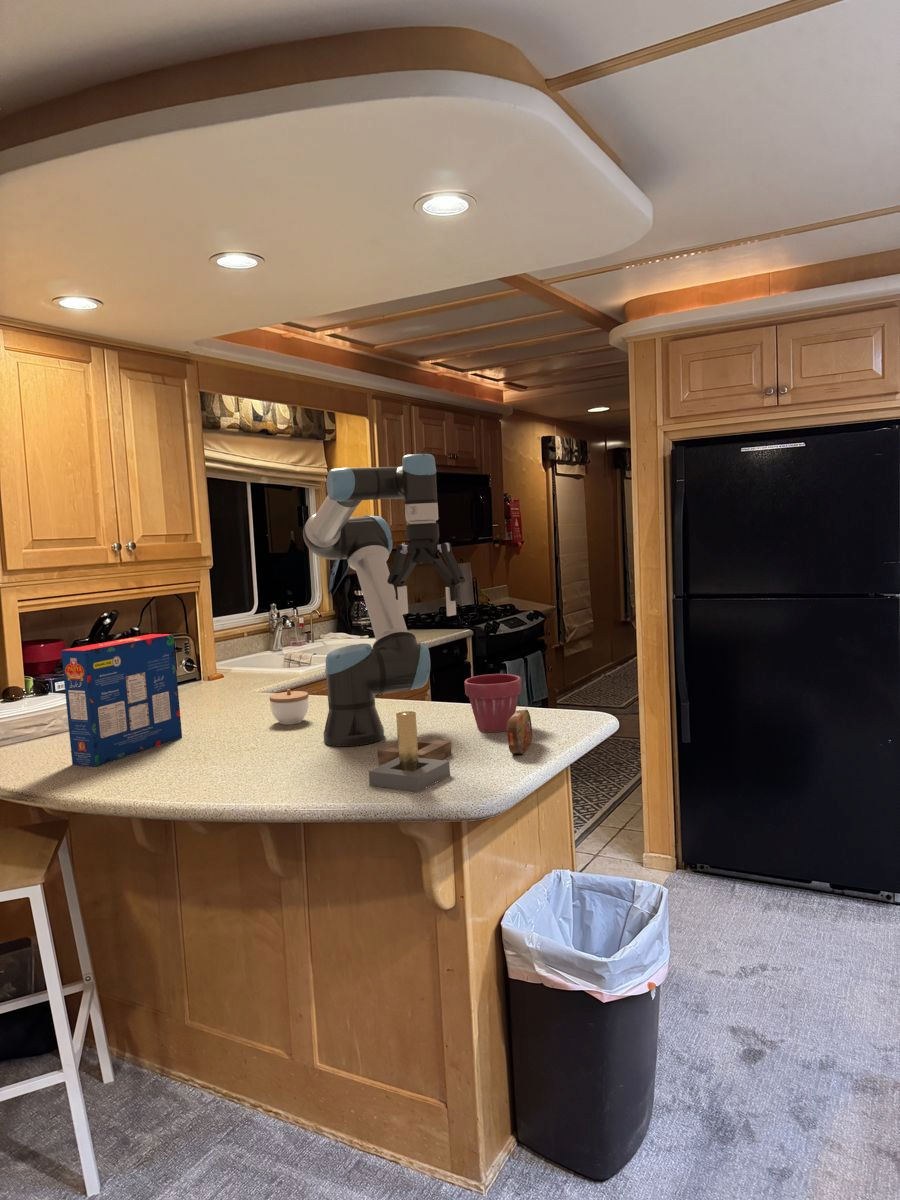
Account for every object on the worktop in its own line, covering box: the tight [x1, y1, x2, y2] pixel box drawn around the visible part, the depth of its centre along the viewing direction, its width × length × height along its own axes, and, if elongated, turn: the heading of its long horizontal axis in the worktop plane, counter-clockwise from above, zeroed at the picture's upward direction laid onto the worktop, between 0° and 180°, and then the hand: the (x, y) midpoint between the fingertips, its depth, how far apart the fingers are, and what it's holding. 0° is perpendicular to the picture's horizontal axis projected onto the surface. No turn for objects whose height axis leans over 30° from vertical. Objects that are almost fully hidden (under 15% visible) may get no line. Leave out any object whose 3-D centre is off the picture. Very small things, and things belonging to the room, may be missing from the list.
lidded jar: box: [269, 688, 310, 726], centre depth 232 cm, size 11×11×9 cm
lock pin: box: [395, 710, 419, 771], centre depth 170 cm, size 4×4×14 cm
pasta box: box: [60, 633, 183, 768], centre depth 209 cm, size 28×8×28 cm, turn 154°
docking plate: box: [368, 757, 451, 793], centre depth 170 cm, size 12×12×3 cm
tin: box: [506, 709, 533, 755], centre depth 189 cm, size 15×3×8 cm, turn 163°
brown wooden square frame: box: [376, 737, 453, 765], centre depth 187 cm, size 12×12×3 cm
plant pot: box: [464, 673, 522, 733], centre depth 210 cm, size 14×14×13 cm
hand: (427, 614), depth 191 cm, fingers open, 13 cm apart
